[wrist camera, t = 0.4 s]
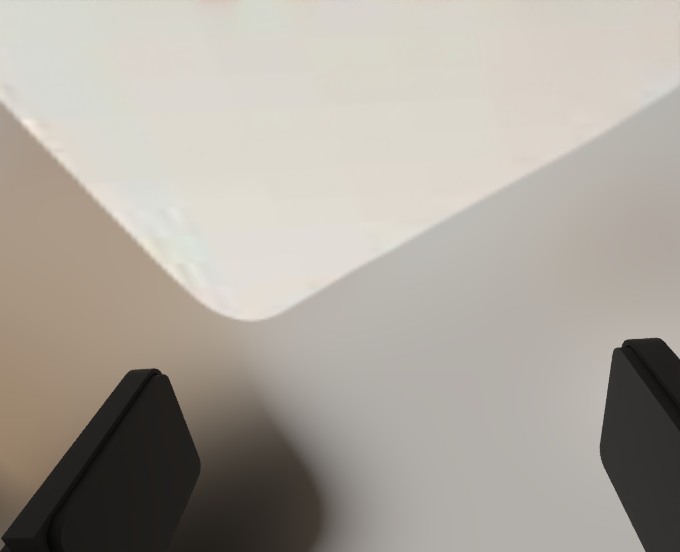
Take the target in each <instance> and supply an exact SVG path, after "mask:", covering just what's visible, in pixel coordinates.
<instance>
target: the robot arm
mask: <svg viewBox="0 0 680 552" xmlns="http://www.w3.org/2000/svg"><path fill="white" fill-rule="evenodd" d="M600 456H601V460H602V463H603V466H604V468H605V470H606V472H607V474H608V476H609V478H610V480H611V482H612V484H613V486H614V488H615V490H616V492H617V494H618V496H619V498H620V500H621V502H622V505H623V507H624V509H625V511H626V513H627V515H628V517H629V519H630V521H631V523H632V525H633V527H634V529H635V531H636V533H637V535H638V537H639V539H640V541H641V543H642V545H643V547H644V549H645V551H646V552H680V359H679V358H678V357H677V356H676V354H675V353H674V352H673V351H672V350H671V349H670V348H669V347H668V346H667V344H666V343H665V342H664V341H663V340H662V339H660V338H646V339H629V340H626V341H624V343H623V344H622V347H621V348H615V349H614V351H613V355H612V362H611V369H610V377H609V384H608V391H607V399H606V405H605V413H604V420H603V427H602V434H601V441H600ZM199 474H200V459H199V456H198V453H197V450H196V448H195V445H194V443H193V440H192V438H191V435H190V432H189V430H188V427H187V424H186V422H185V420H184V417H183V414H182V411H181V409H180V406H179V404H178V401H177V398H176V396H175V393H174V391H173V388H172V385H171V383H170V380H169V378H168V377H167V376H166V375H164V374H163V375H162V373H161V372H160V371H159V370H158V369H140V370H139V369H138V370H131V371H129V372H128V373H127V374H126V375H125V376H124V378H123V379H122V380H121V382H120V383H119V384H118V386H117V387H116V388H115V390H114V391H113V392H112V393H111V395H110V396H109V398H108V399H107V400H106V401H105V403H104V404H103V405H102V407H101V408H100V409H99V411H98V412H97V413H96V415H95V416H94V417H93V418H92V420H91V421H90V422H89V424H88V425H87V426H86V428H85V429H84V430H83V431H82V433H81V434H80V436H79V437H78V438H77V439H76V441H75V442H74V443H73V445H72V446H71V447H70V449H69V450H68V451H67V452H66V454H65V455H64V456H63V458H62V459H61V460H60V462H59V463H58V464H57V466H56V467H55V468H54V469H53V471H52V472H51V473H50V475H49V476H48V477H47V479H46V480H45V481H44V483H43V484H42V486H41V487H40V488H39V489H38V490H37V492H36V493H35V494H34V496H33V497H32V498H31V500H30V501H29V502H28V504H27V505H26V506H25V508H24V509H23V510H22V512H21V513H20V514H19V515H18V517H17V518H16V519H15V521H14V522H13V523H12V525H11V526H10V527H9V528H8V530H7V531H6V533H5V534H4V535H3V536H2V538H1V539H2V540H3V542H4V543H5V546H4V547H3V548H2V550H1V551H0V552H167V550H168V547H169V545H170V543H171V540H172V538H173V536H174V533H175V531H176V528H177V526H178V524H179V522H180V519H181V517H182V514H183V512H184V509H185V507H186V505H187V503H188V500H189V498H190V496H191V493H192V491H193V489H194V486H195V484H196V482H197V479H198V477H199Z"/></svg>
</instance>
